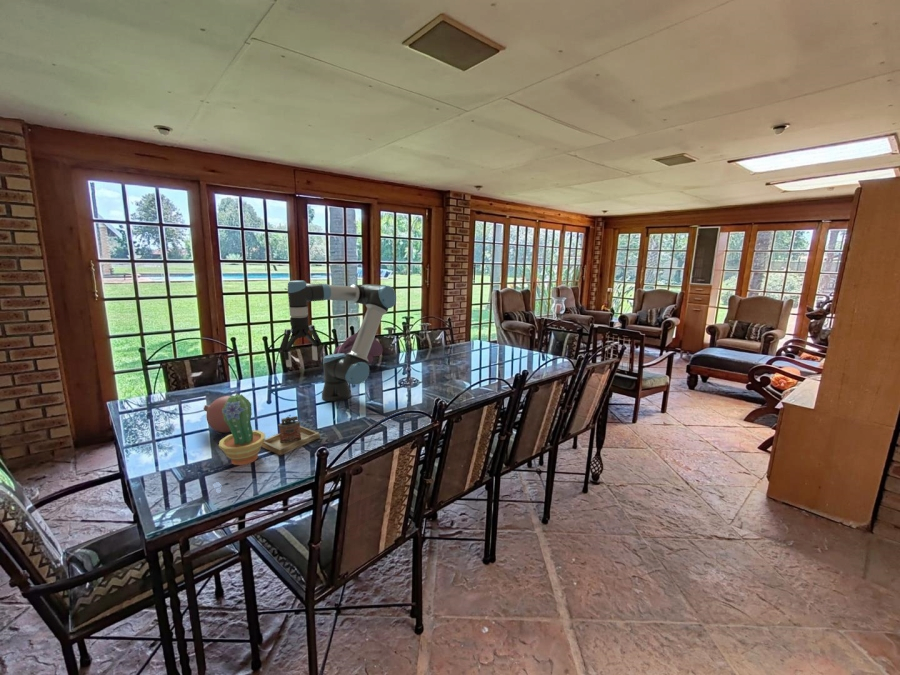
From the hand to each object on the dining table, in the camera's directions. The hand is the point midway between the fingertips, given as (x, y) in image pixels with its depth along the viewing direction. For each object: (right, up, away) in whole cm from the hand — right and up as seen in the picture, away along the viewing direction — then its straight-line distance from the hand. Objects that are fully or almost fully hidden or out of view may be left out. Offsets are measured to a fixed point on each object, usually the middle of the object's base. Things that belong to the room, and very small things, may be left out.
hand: (302, 363), depth 178 cm
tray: (+1, -31, -17) cm, 35 cm away
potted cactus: (-10, -34, -30) cm, 47 cm away
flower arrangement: (+4, -11, +82) cm, 82 cm away
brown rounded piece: (-31, -29, -6) cm, 43 cm away
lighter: (+2, -30, -17) cm, 35 cm away
